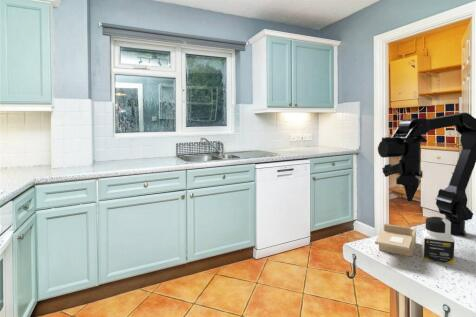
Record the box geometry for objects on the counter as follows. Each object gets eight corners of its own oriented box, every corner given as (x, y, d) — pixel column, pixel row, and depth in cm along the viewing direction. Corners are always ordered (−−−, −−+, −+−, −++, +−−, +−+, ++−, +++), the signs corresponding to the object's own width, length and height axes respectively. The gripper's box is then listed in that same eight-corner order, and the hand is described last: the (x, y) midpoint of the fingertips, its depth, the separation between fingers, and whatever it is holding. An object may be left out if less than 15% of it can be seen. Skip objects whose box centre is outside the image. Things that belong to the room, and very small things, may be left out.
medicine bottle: (423, 261, 85) (424, 220, 84) (421, 251, 91) (422, 213, 90) (453, 265, 82) (455, 223, 81) (449, 255, 88) (451, 216, 87)
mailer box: (385, 239, 102) (385, 225, 102) (415, 244, 97) (416, 229, 96) (378, 251, 92) (379, 236, 92) (411, 258, 87) (412, 241, 87)
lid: (382, 231, 96) (382, 223, 95) (413, 236, 91) (413, 227, 90) (374, 243, 86) (375, 234, 86) (408, 250, 81) (409, 240, 81)
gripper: (388, 153, 112) (388, 193, 114) (379, 158, 97) (378, 204, 99) (423, 153, 106) (422, 196, 107) (419, 159, 90) (417, 209, 92)
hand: (409, 201), depth 101 cm, fingers closed
